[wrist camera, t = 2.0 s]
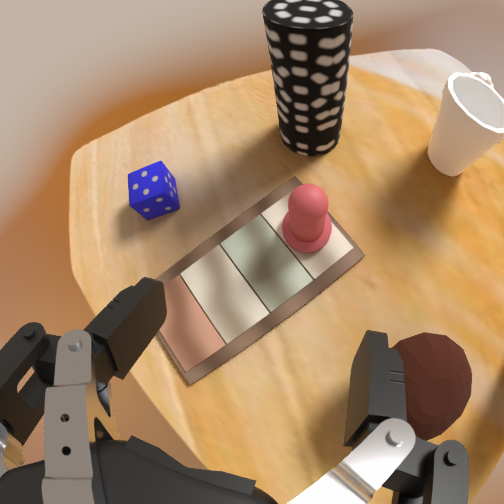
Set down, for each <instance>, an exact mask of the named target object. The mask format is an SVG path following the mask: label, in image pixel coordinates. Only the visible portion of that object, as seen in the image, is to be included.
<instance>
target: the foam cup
mask: <svg viewBox="0 0 504 504" xmlns="http://www.w3.org/2000/svg"><path fill="white" fill-rule="evenodd" d="M503 139H504V100H503V98H502V97H501V96H500V95H499V94H498V93H497V92H496V91H495V90H494V89H493V88H492V87H491V86H489V85H488V84H487V83H485V82H484V81H482V80H481V79H479V78H477V77H474V76H472V75H469V74H467V73H454V74H453V75H451V76H450V77H449V78H448V80H447V82H446V84H445V87H444V89H443V95H442V102H441V105H440V109H439V112H438V116H437V119H436V123H435V126H434V129H433V132H432V136H431V139H430V142H429V145H428V151H427V153H428V156H429V159H430V161H431V163H432V164H433V165H434V167H435V168H436V169H437V170H439V171H440V172H441V173H443V174H445V175H448V176H457V175H459V174H461V173H462V172H463V171H465V170H466V169H467V168H468V167H469V166H471V165H472V164H473V163H474V162H476V161H477V160H478V159H479V158H480V157H482V156H483V155H484V154H485V153H486V152H488V151H489V150H490V149H491V148H492V147H493V146H495V145H496V144H497V143H500V142H501V141H502V140H503Z"/></svg>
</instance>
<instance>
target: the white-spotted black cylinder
mask: <svg viewBox="0 0 504 504" xmlns="http://www.w3.org/2000/svg"><path fill="white" fill-rule="evenodd" d="M263 18H264V24H265V30H266V35H267V42H268V48H269V54H270V61H271V68H272V75H273V81H274V88H275V96H276V103H277V110H278V118H279V126H280V134H281V138H282V140H283V142H284V144H285V145H286V146H287V147H288V148H289V149H290V150H292V151H294V152H295V153H298V154H301V155H305V156H319V155H323V154H326V153H328V152H330V151H331V150H332V149H334V148H335V146H336V145H337V144H338V141H339V138H340V131H341V124H342V117H343V110H344V102H345V94H346V86H347V77H348V68H349V58H350V48H351V36H352V23H353V12H352V9H351V8H350V7H349V6H348V5H346V4H345V3H344V2H342V1H340V0H271V1H269V2H268V3H267V4H265V6H264V7H263Z"/></svg>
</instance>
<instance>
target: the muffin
mask: <svg viewBox="0 0 504 504" xmlns="http://www.w3.org/2000/svg"><path fill="white" fill-rule="evenodd" d="M392 349H397V351H398V353H399V355H400V357H401V358H402V360H403V370H404V373H403V375H404V384H405V396H406V417H407V423H408V424H409V425H410V426H411V427H412V428H413V430H414V433H415V435H416V436H417V437H418V438H420V439H422V440H425V441H427V440H429V439H432V438H434V437H436V436H438V435H441V434H442V433H443V432H444V431H445V430H447V429H448V428H449V427H450V426H451V425H452V424H453V423H454V422H455V421H456V420H457V419H458V418H459V417H460V416H461V415H462V413H463V411H464V409H465V407H466V404H467V402H468V400H469V398H470V396H471V384H472V373H471V368H470V365H469V363H468V360H467V358H466V355H465V353H464V350H463V349H462V348H461V347H460V346H459V345H457V344H456V343H455V342H454V341H452V340H451V339H450V338H449V337H447V336H446V335H438V334H432V333H425V332H424V333H421V334H418V335H415V336H412V337H410V338H407V339H404V340H401V341H399V342H398V343H397V344H396V345H395V346H394V347H392Z"/></svg>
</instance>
